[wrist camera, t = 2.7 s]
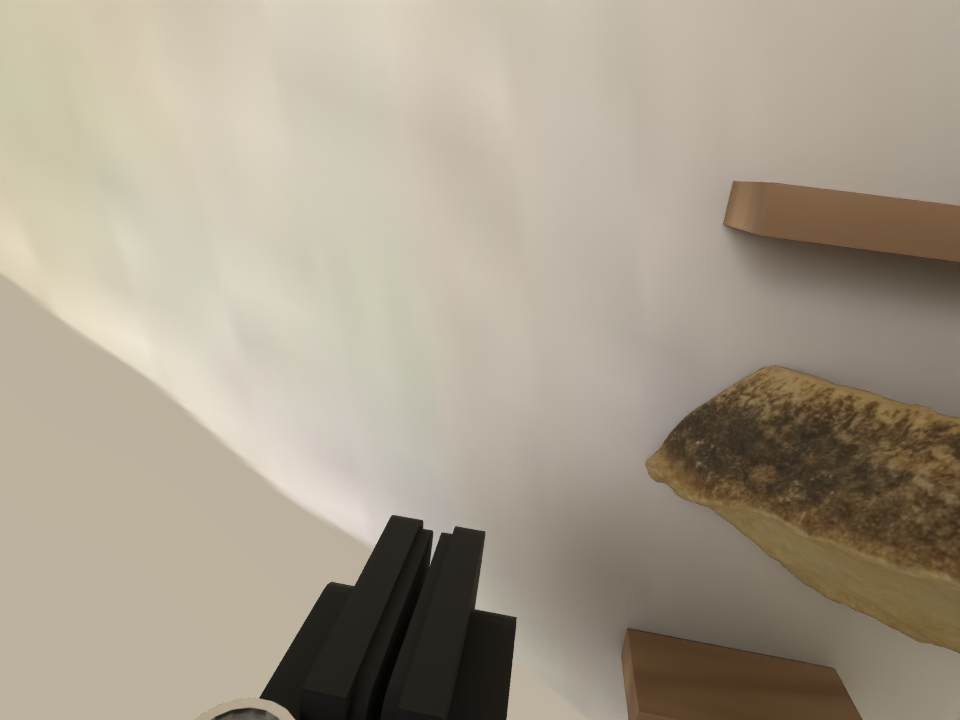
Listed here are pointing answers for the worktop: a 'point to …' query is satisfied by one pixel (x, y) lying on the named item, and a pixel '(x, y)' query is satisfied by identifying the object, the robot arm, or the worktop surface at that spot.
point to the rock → (833, 492)
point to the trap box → (744, 675)
